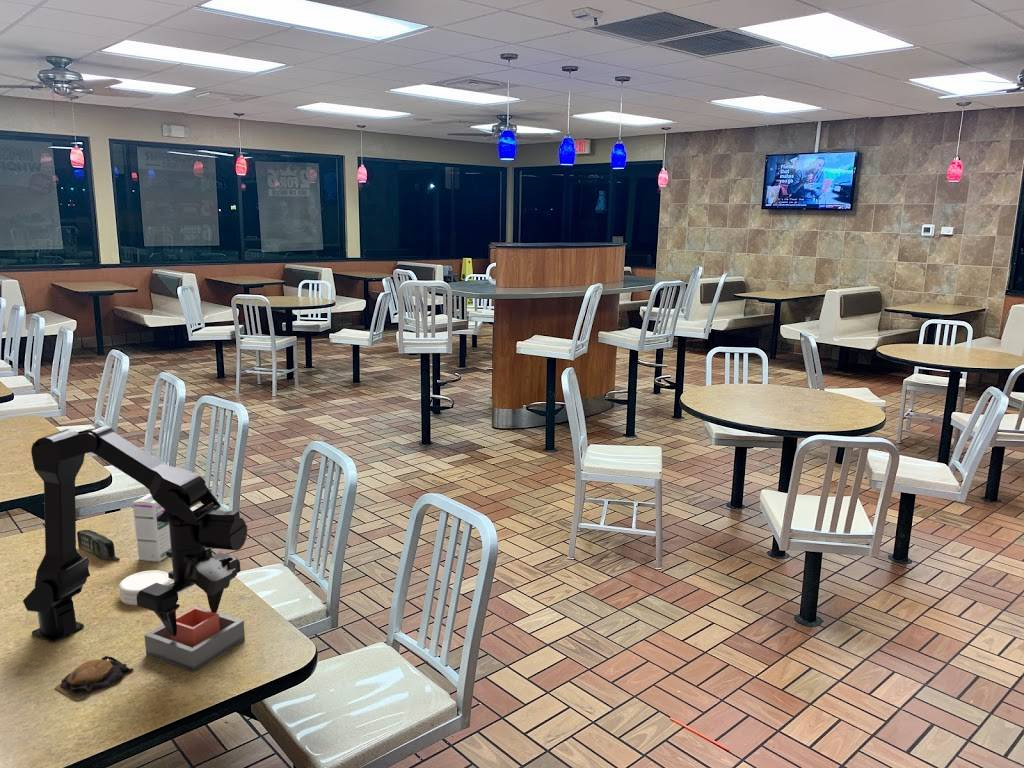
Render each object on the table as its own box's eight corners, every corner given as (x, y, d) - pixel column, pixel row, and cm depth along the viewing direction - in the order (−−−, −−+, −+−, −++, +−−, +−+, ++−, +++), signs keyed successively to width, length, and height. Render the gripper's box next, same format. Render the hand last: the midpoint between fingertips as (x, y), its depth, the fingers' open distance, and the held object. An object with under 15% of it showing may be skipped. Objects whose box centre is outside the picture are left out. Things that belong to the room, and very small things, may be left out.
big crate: (146, 655, 140) (144, 635, 139) (199, 625, 150) (197, 606, 149) (193, 672, 134) (191, 651, 134) (244, 640, 145) (243, 620, 144)
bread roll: (79, 707, 126) (76, 687, 125) (51, 690, 130) (48, 670, 129) (139, 675, 134) (137, 656, 134) (111, 660, 139) (109, 641, 138)
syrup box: (160, 562, 177) (154, 503, 174) (137, 560, 178) (131, 500, 176) (175, 552, 183) (170, 494, 180) (153, 550, 184) (148, 492, 181)
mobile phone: (73, 530, 183) (107, 544, 175) (86, 526, 186) (120, 539, 177) (76, 550, 184) (110, 564, 176) (88, 546, 187) (123, 559, 178)
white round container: (114, 593, 163) (112, 578, 162) (163, 580, 169) (162, 565, 169) (127, 611, 155) (126, 595, 155) (178, 596, 162) (177, 581, 161)
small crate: (171, 646, 141) (168, 621, 140) (197, 631, 146) (195, 607, 145) (194, 654, 138) (192, 629, 137) (220, 638, 143) (218, 614, 142)
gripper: (176, 574, 126) (183, 660, 130) (259, 534, 143) (264, 611, 146) (130, 560, 131) (138, 643, 134) (216, 523, 148) (221, 598, 151)
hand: (194, 623), depth 141 cm, fingers open, 9 cm apart
